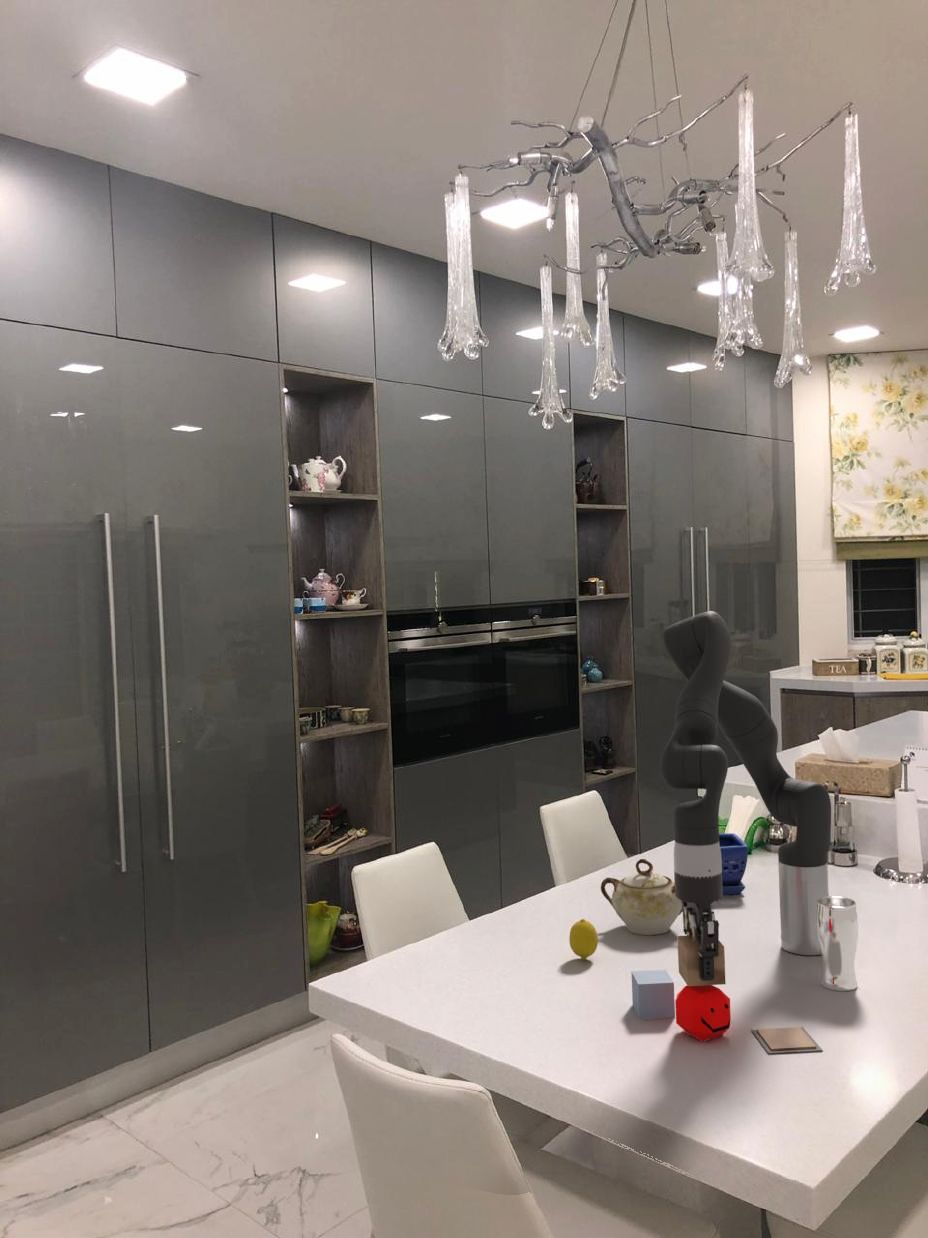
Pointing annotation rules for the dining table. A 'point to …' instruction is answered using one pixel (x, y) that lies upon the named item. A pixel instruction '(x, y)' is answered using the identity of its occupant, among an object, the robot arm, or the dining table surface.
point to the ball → (703, 1011)
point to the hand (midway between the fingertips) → (701, 972)
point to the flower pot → (732, 862)
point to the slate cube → (653, 994)
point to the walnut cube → (690, 963)
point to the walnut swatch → (786, 1040)
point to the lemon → (583, 939)
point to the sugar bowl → (644, 901)
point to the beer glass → (838, 941)
